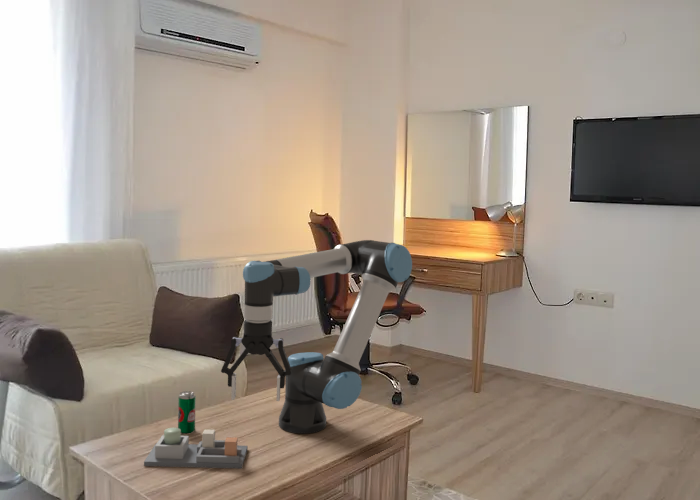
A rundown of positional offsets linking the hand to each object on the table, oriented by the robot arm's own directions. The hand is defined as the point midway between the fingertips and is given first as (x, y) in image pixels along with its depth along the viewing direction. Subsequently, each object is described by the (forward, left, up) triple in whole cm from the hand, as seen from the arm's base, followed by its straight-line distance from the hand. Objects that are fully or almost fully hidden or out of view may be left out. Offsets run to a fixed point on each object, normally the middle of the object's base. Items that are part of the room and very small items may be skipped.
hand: (255, 398), depth 173 cm
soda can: (+23, -20, -18) cm, 36 cm away
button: (+23, -2, -14) cm, 27 cm away
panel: (+16, -2, -18) cm, 24 cm away
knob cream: (+13, -5, -17) cm, 22 cm away
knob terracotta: (+6, 0, -17) cm, 18 cm away
